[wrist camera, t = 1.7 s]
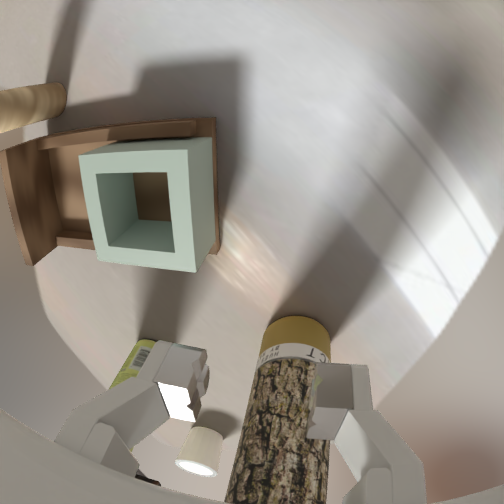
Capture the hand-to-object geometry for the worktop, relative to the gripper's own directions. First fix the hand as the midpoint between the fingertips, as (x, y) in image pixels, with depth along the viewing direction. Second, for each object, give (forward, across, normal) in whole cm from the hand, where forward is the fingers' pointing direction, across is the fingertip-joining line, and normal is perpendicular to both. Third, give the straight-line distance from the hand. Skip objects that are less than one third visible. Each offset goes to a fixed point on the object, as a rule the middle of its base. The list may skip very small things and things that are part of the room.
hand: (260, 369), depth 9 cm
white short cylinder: (+17, +10, +41) cm, 46 cm away
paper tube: (+17, -2, +15) cm, 23 cm away
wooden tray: (+17, +14, 0) cm, 22 cm away
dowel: (+17, +22, -9) cm, 30 cm away
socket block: (+16, +10, 0) cm, 19 cm away
